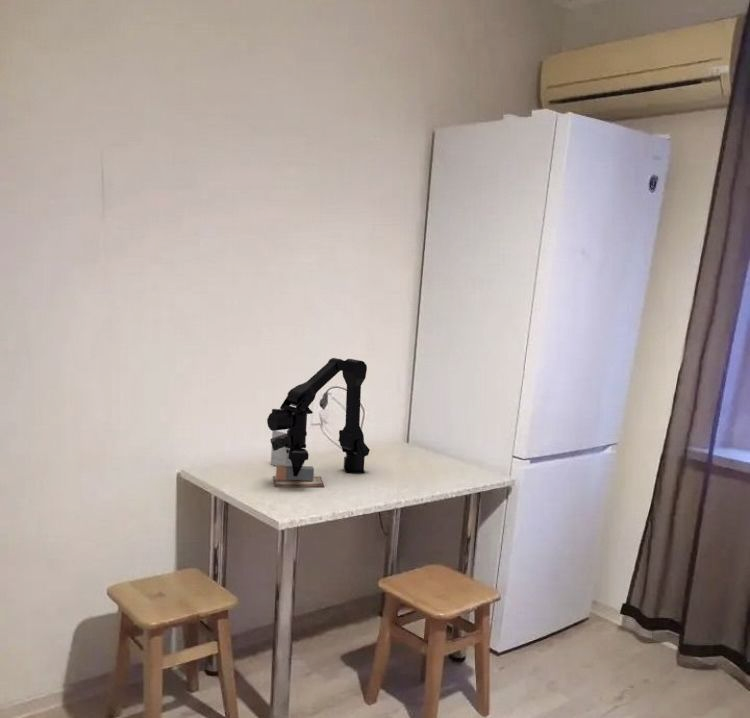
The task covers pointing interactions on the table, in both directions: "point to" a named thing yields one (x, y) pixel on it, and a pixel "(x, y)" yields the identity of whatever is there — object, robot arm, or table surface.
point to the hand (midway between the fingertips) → (294, 474)
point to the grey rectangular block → (287, 474)
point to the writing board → (298, 483)
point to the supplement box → (280, 451)
